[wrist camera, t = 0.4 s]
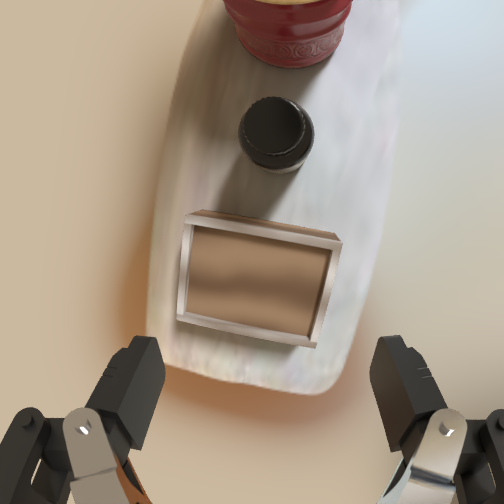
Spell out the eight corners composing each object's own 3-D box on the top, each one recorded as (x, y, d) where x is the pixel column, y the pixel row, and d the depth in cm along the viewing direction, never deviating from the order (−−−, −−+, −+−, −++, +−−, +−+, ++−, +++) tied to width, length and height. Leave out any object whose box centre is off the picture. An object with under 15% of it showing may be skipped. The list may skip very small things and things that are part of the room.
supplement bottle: (313, 171, 33) (323, 165, 21) (254, 177, 34) (234, 175, 22) (305, 113, 31) (310, 80, 20) (247, 121, 32) (223, 92, 21)
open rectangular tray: (202, 209, 36) (185, 215, 30) (334, 233, 34) (342, 243, 28) (192, 300, 39) (176, 319, 33) (312, 324, 37) (315, 348, 31)
